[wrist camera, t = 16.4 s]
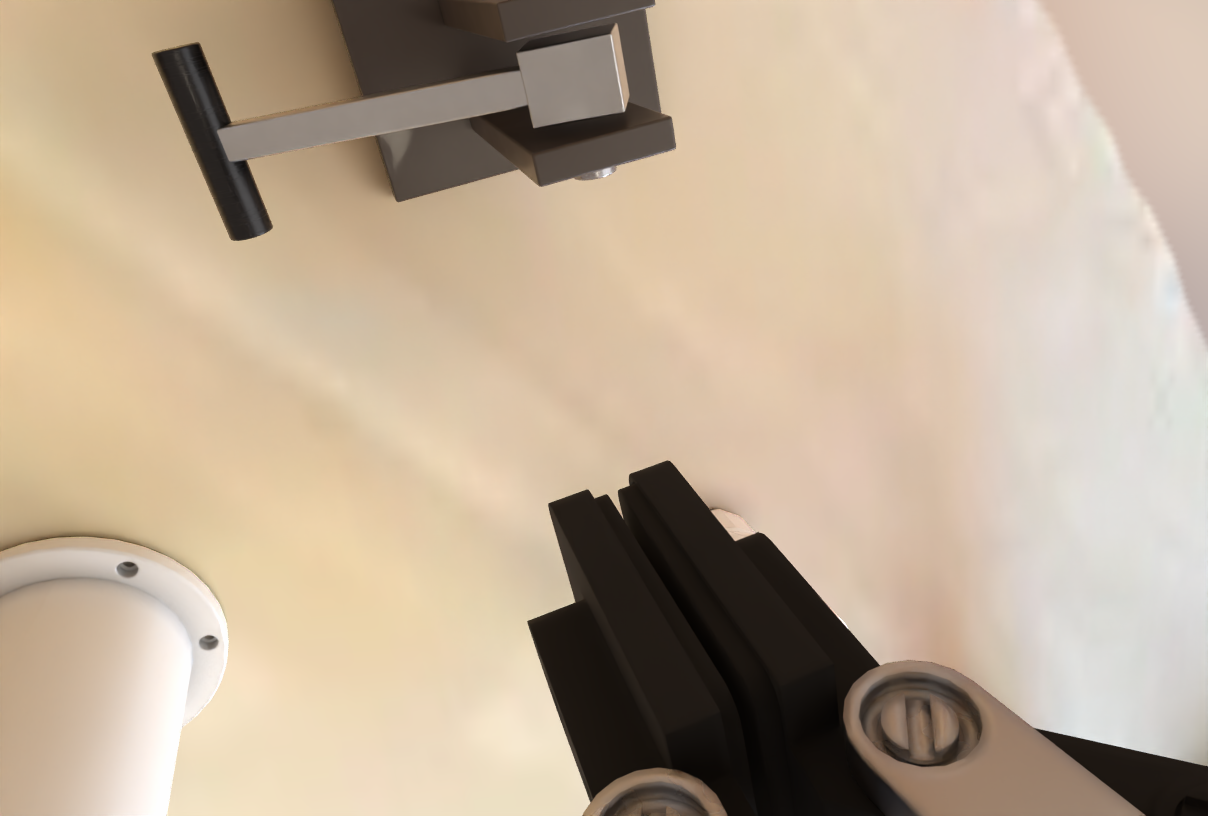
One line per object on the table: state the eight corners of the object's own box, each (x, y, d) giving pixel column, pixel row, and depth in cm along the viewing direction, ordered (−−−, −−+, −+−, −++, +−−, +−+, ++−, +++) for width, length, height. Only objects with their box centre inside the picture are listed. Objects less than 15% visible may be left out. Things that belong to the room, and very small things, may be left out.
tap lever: (248, 225, 30) (216, 249, 28) (174, 46, 27) (132, 58, 25) (640, 156, 28) (636, 176, 26) (605, -48, 25) (598, -44, 23)
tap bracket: (394, 196, 36) (433, 288, 25) (319, -38, 32) (326, -51, 21) (654, 126, 38) (795, 181, 27) (618, -104, 34) (768, -147, 23)
